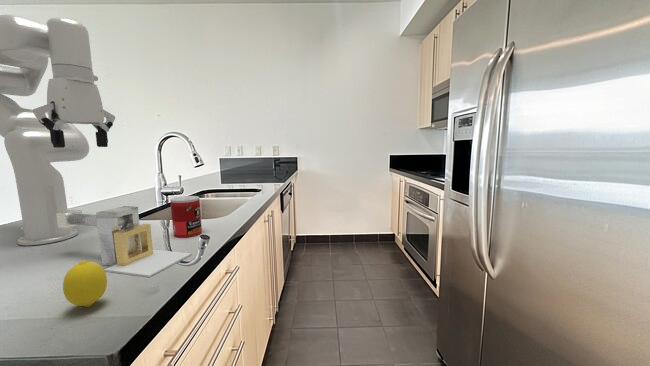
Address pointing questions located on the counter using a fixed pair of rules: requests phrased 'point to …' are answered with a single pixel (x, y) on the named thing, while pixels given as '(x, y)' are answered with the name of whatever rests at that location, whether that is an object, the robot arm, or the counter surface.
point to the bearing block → (109, 226)
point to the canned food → (186, 216)
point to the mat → (150, 263)
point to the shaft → (82, 219)
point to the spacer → (121, 244)
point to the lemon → (84, 283)
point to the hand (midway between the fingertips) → (82, 147)
